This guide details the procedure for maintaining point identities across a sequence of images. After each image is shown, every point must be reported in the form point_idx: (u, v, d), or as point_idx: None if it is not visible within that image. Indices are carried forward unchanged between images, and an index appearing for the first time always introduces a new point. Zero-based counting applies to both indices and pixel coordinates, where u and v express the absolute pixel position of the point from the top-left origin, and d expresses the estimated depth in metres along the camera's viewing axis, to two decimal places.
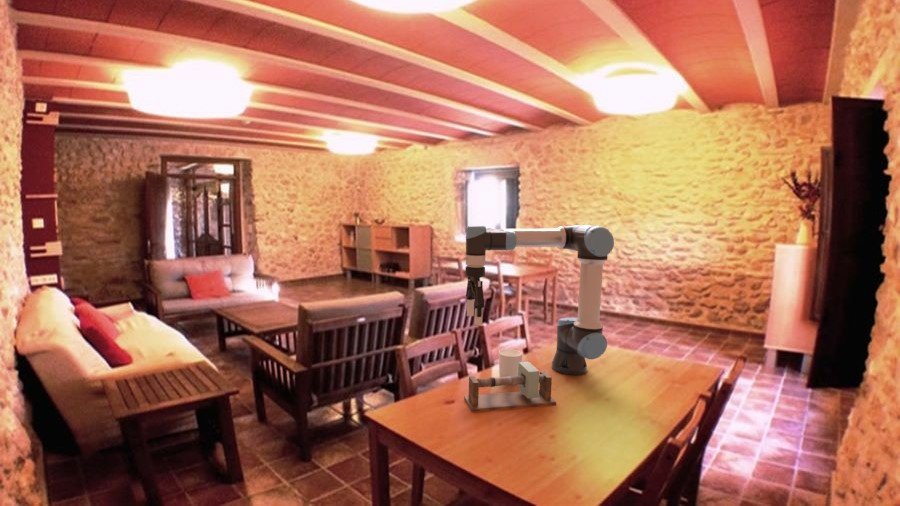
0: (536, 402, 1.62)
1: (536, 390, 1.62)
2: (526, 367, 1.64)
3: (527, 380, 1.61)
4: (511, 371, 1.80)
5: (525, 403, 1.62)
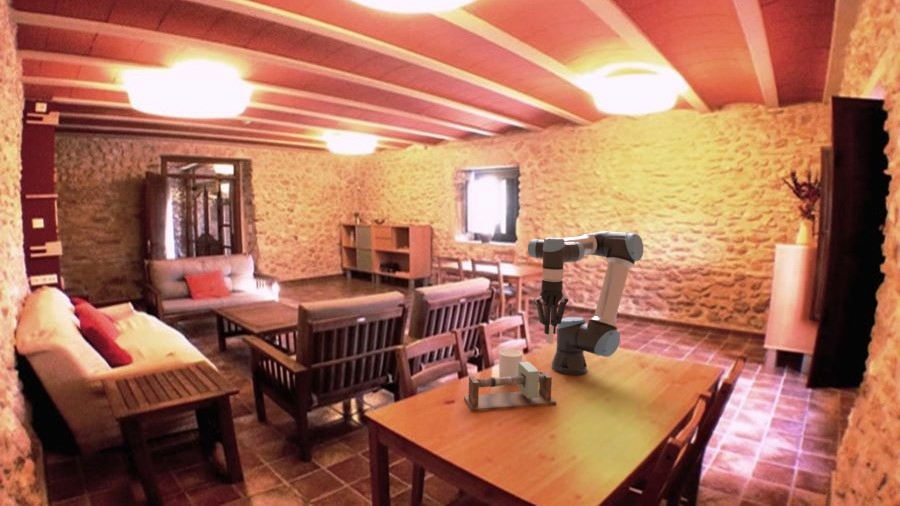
0: (536, 402, 1.62)
1: (536, 390, 1.62)
2: (526, 367, 1.64)
3: (527, 380, 1.61)
4: (511, 371, 1.80)
5: (525, 403, 1.62)
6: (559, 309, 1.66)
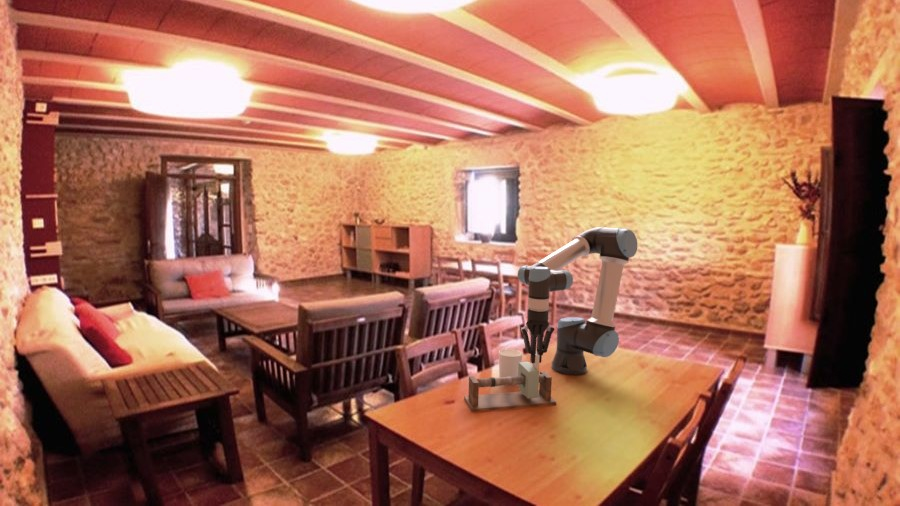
0: (536, 402, 1.62)
1: (536, 390, 1.62)
2: (526, 367, 1.64)
3: (527, 380, 1.61)
4: (511, 371, 1.80)
5: (525, 403, 1.62)
6: (545, 338, 1.66)
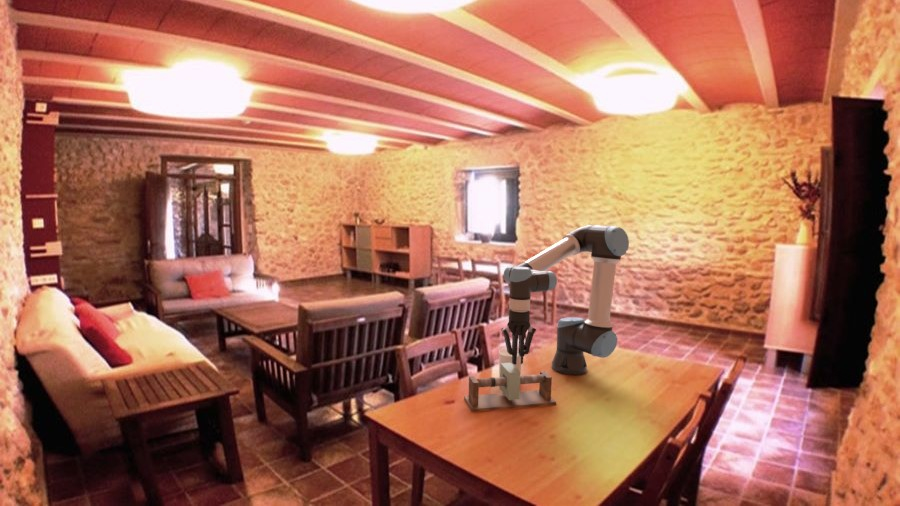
0: (536, 402, 1.62)
1: (517, 391, 1.60)
2: (507, 368, 1.63)
3: (508, 381, 1.60)
4: None
5: (525, 403, 1.62)
6: (527, 339, 1.64)
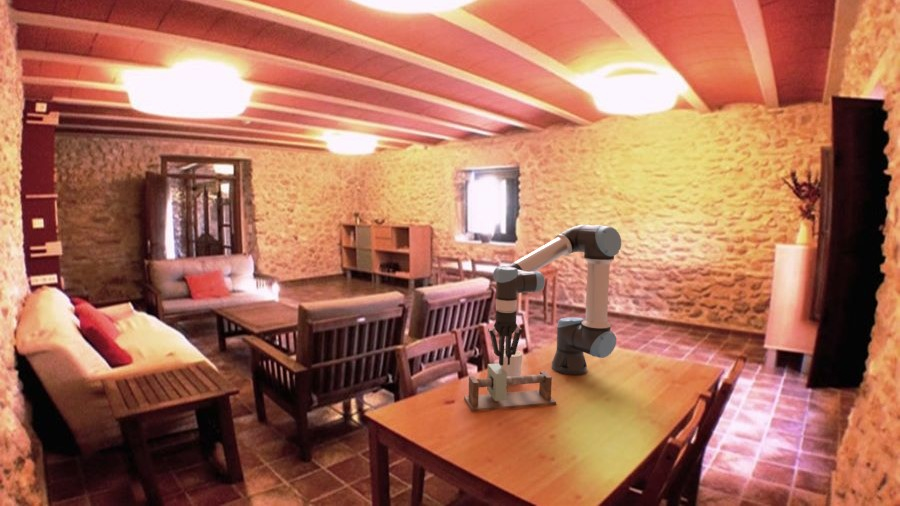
0: (536, 402, 1.62)
1: (504, 393, 1.59)
2: (494, 369, 1.62)
3: (495, 382, 1.59)
4: (511, 371, 1.80)
5: (525, 403, 1.62)
6: (514, 340, 1.63)
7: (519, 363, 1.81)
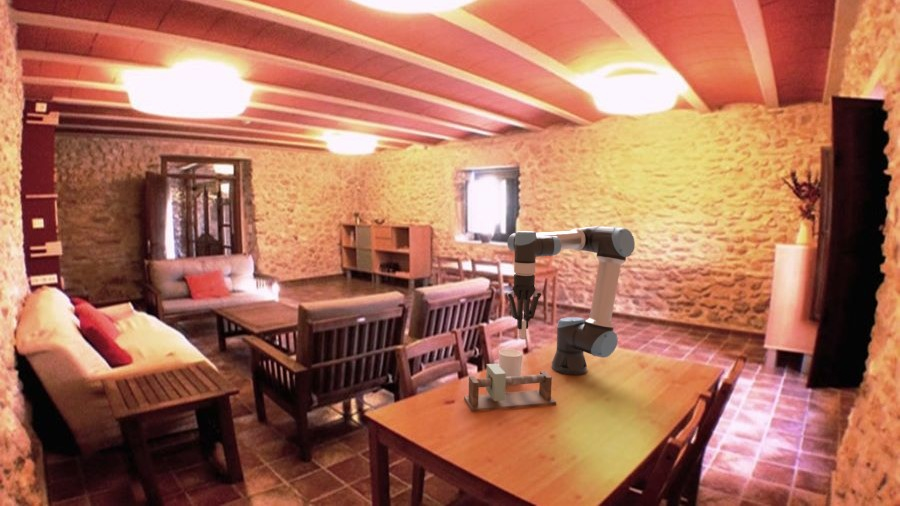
0: (536, 402, 1.62)
1: (503, 393, 1.59)
2: (493, 369, 1.62)
3: (493, 382, 1.59)
4: (511, 371, 1.80)
5: (525, 403, 1.62)
6: (532, 304, 1.63)
7: (519, 363, 1.81)
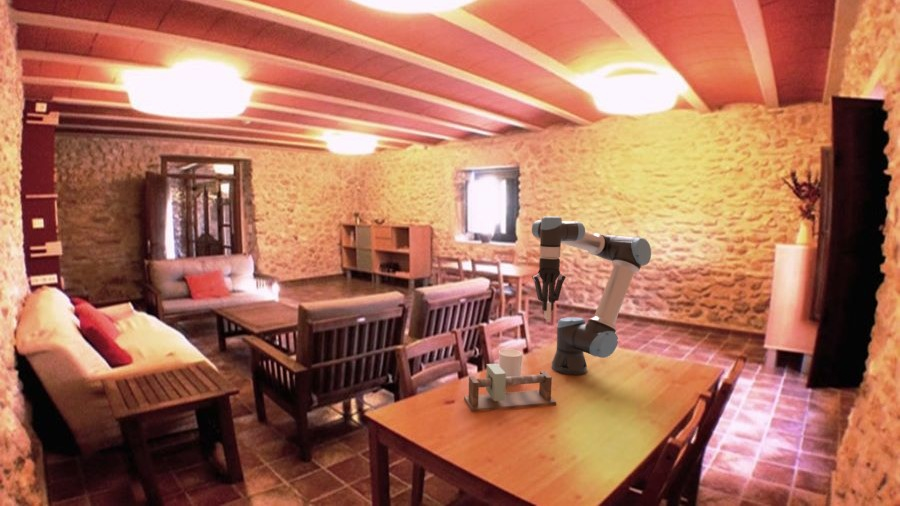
0: (536, 402, 1.62)
1: (503, 393, 1.59)
2: (493, 369, 1.62)
3: (493, 382, 1.59)
4: (511, 371, 1.80)
5: (525, 403, 1.62)
6: (556, 286, 1.70)
7: (519, 363, 1.81)
